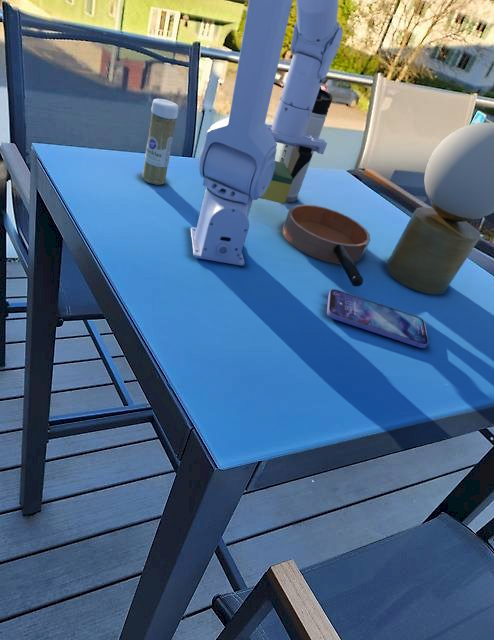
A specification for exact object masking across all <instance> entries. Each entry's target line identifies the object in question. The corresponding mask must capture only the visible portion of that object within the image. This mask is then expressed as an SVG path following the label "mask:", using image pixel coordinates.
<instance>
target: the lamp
mask: <svg viewBox="0 0 494 640" xmlns="http://www.w3.org/2000/svg"><path fill="white" fill-rule="evenodd" d="M424 171H425V172H424V178H423V179H424V189H425V194H426V196H427V197H428V199H429V202H430V204H431V207H427V206H426V207H425V206H422V207H417V208H416V209H415V210H414V211H413V213H412V215H411V217H410V219H409V221H408V223H407V224H406V226H405V228H404V230H403V232H402V234H401V236H400V237H399V239H398V241H397V243H396V245H395V246H394V249H393V250H392V252H391V254H390V256H389V257H388V260H387V262H386V264H385V268H386V271H387V272H388V274H389V275H390V276H391V277H392V278H393V279H394V280H395V281H397V282H399V283H400V284H401V285H403V286H405V287H407V288H409V289H411V290H414V291H416V292H419V293H422V294H427V295H433V296H435V295H442V294H443V293H446V291H447V289H448V288H449V286H450V285H451V283H452V282H453V280H454V279H455V277H456V275H458V272H459V271H460V269H461V268H462V267H463V264H464V263H465V262H466V260H467V258H469V256H470V254H471V253H472V251H473V249H474V248H475V246H476V245H477V243H478V241H479V240H480V239H481V233H480V231H478V229H477V228H476V227H474V226H473V225H472V224H470V223H469V222H470V221H474V220H476V219H480V218H484V217H487V216H489V215H491V214H493V213H494V122H476V123H471V124H467V125H464V126H462V127H460V128H458V129H456V130H455V131H453V132H451V133H450V134H448V135H447V136H446V137H444V139H443V140H442V141H440V143H439V144H438V145H437V146H436V148H434V149H433V152H432V153H431V155H430V157H429V159H428V160H427V163H426V167H425V170H424Z"/></svg>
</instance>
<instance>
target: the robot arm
mask: <svg viewBox="0 0 494 640" xmlns="http://www.w3.org/2000/svg"><path fill="white" fill-rule="evenodd" d="M295 2H296V3H295V4H296V5H295V7H296V22H295V23H294V25H293V26H294V27H293V32H292V33H293V34H292V38H291V44H290V53H291V54H292V57H291V61H290V64H289V67H288V71H287V74H286V78H285V81H284V84H283V88H282V91H281V94H280V98H279V102H278V105H277V109H276V111H275V115H274V118H273V121H272V124H268V123H266V120H267V116H268V112H269V107H270V103H271V98H272V93H273V90H274V85H275V80H276V76H277V72H278V67H279V63H280V58H281V53H282V49H283V45H284V41H285V37H286V31H287V28H288V22H289V18H290V14H291V9H292V5H293V0H248V4H247V9H246V14H245V21H244V26H243V32H242V38H241V45H240V49H239V50H240V51H239V56H238V62H237V69H236V74H235V80H234V86H233V92H232V98H231V104H230V110H229V115H228V116H226V117H224V118H221V119H219V120H217V121H216V122H214V123H213V124H211V126H210V127H209V128H208V130H207V131H206V134H205V138H204V143H203V146H202V149H201V150H200V154H199V159H198V171H199V175H200V177H201V178H202V179H203V180H202V186H204V187H205V190H204V195H203V198H202V203H201V207H200V211H199V215H198V220H197V224H196V227H195V226H191V227H190V238H191V245H192V255H193V257H194V258H196V259H201V260H208V261H211V262H212V261H213V262H218V263H223V264H224V263H225V264H231V265H235V266H245V259H244V255H243V248H244V246H245V242H246V239H247V235H248V233H249V229H250V221H249V213H250V211H251V207H252V205H253V201H257V200H259V199H260V197H262V196H263V195H264V193H265V192H266V190H267V188H268V186H269V184H270V182H271V179H272V177H273V173H274V169H275V161H276V154H277V150H278V149H277V146H278V144H282V145H283V144H286V145H290V146H293V148H292V153H291V157H290V161H289V165H288V168H287V169H288V171H289V173H290V174H291V176H292V178H293V179H294V178H295V176H296V175H297V174H298V172H299V171H300V170H301V169H302V168H303V167H304V166H305V165H306V164H307V163H308V162H309V161H310V160H311V161H312V158H313V155H312V153H311V151H314V152H315V153H317V154H320V155H324V153H325V150H326V149H327V148H326V147H327V145H328V143H327V141H326V139H323V138H320V137H319V138H316V137H313V136H310V135H307V134H304V133H305V130H306V127H307V124H308V121H309V119H310V116H311V113H312V110H313V107H314V104H315V101H316V98H317V95H318V92H319V89H320V87H321V86H322V83H323V80H324V79H326V78H327V75H328V73H329V70H330V68H331V65H332V63H333V61H334V59H335V57H336V55H337V54H338V50H339V48H340V44H341V41H342V37H343V33H344V31H343V30H344V29H343V28H342V27H340V22H339V21H338V13H339V12H338V11H339V10H338V9H339V0H295ZM311 161H310V162H311Z"/></svg>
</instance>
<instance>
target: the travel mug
mask: <svg viewBox="0 0 494 640" xmlns="http://www.w3.org/2000/svg"><path fill="white" fill-rule="evenodd" d="M332 101H333V95H332V94H331V93H329V92H328V91H326V90H324V89H322V87H321V86H320V89H319V92H318V95H317V98H316V101H315V104H314V107H313V110H312V113H311V116H310V119H309V121H308V124H307V127H306V130H305V133H304V134H307V135H310V136H313V137H316V138H320V135H321V133H322V130H323V127H324V125H325V122H326V118H327V116H328V112H329V109H330V107H331V104H332ZM292 148H293V146H290V145H286V144H282V145H281V149H280V151H279V155H278V157H277V162H282V163H285V165H286V167H287V168H288V165H289V161H290V157H291V153H292ZM314 152H315V151H311V153H312V156H313V155H314ZM311 161H312V159H311V160H310V161H309V162H308V163H307V164H306V165H305V166H304V167H303V168H302V169H301V170H300V171H299V172H298V174H297V175H296V176H295V178H294V179H293V181H292V184H291V187H290V189H289V192H288V195H287V198H286V201H285V203H294V202H296V201H297V199H298V197H299V193H300V191H301V189H302V186H303V183H304V180H305V178H306V175H307V172H308V170H309V167H310V163H311Z"/></svg>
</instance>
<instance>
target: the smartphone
mask: <svg viewBox="0 0 494 640" xmlns="http://www.w3.org/2000/svg"><path fill="white" fill-rule="evenodd" d="M326 314H327V316H328V317H329V318H330V319H332V320H336V321H339V322H342V323H344V324H347V325H350V326H353V327H356V328H359V329H362V330H366V331H368V332H371V333H375V334H376V335H377V334H378V335H381V336H383V337H386V338H389V339H393V340H394V341H395V340H396V341H399V342H402V343H405V344H408V345H411V346H413V347H417V348H420V349H426V347H428V344H429V338H428V332H427V327H426V323H425V321H424V319H423V318H422V317H420V316H418V315H414V314H412V313H408V312H406V311H402V310H400V309H397V308H394V307H391V306H388V305H384V304H382V303H378V302H375V301H372V300H369V299H367V298H364V297H360V296H357V295H354V294H352V293H349V292H345V291H342V290H340V289H336V288H332V289H330V290H329V292H328V296H327V306H326Z"/></svg>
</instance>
